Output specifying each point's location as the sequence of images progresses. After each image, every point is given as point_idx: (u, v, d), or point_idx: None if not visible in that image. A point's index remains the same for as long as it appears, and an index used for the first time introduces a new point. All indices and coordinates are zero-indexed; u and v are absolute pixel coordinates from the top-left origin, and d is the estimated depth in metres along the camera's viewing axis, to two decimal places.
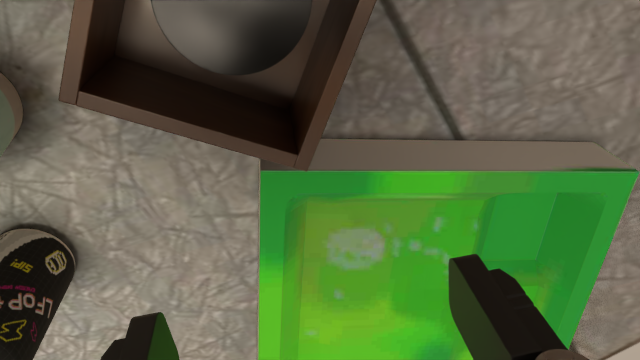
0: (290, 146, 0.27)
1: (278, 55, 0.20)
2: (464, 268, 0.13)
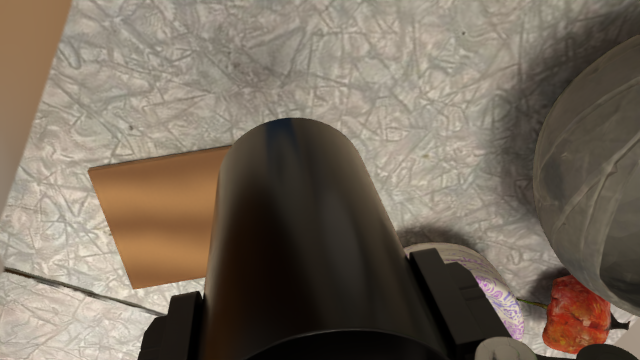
0: None
1: None
2: (421, 261, 0.13)
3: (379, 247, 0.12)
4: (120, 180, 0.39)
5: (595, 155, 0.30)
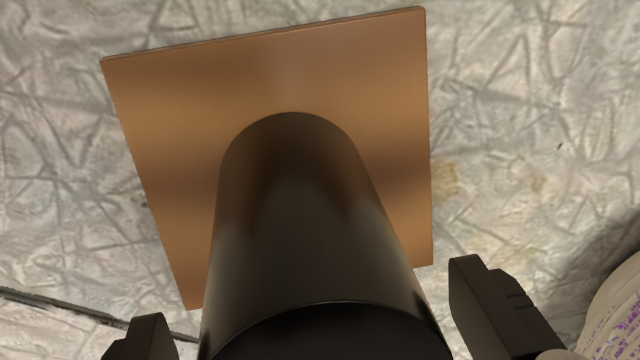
0: None
1: None
2: (464, 268, 0.13)
3: (372, 230, 0.13)
4: (168, 84, 0.18)
5: None
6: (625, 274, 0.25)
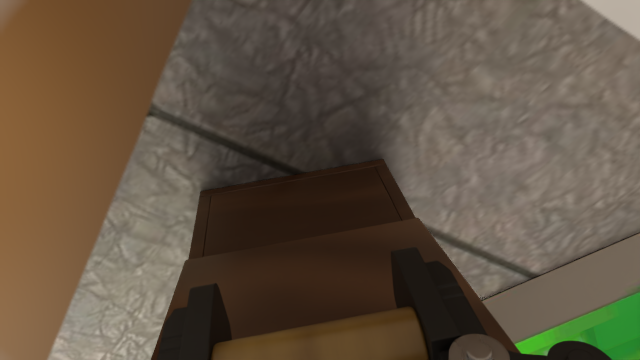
0: None
1: None
2: (402, 260, 0.13)
3: None
4: None
5: None
6: None
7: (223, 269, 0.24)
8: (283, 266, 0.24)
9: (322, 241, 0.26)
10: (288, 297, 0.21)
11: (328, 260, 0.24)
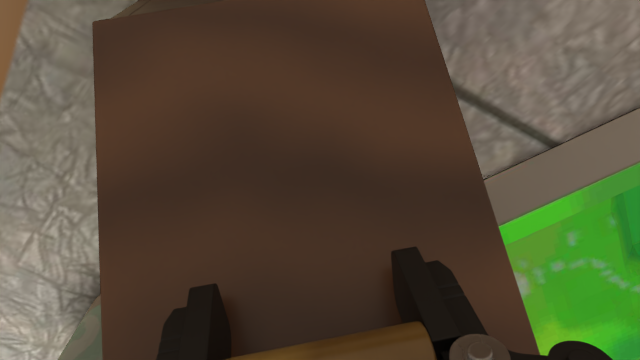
0: None
1: None
2: (402, 260, 0.13)
3: None
4: None
5: None
6: None
7: (153, 53, 0.18)
8: (235, 58, 0.18)
9: (284, 8, 0.19)
10: (250, 126, 0.17)
11: (294, 54, 0.18)
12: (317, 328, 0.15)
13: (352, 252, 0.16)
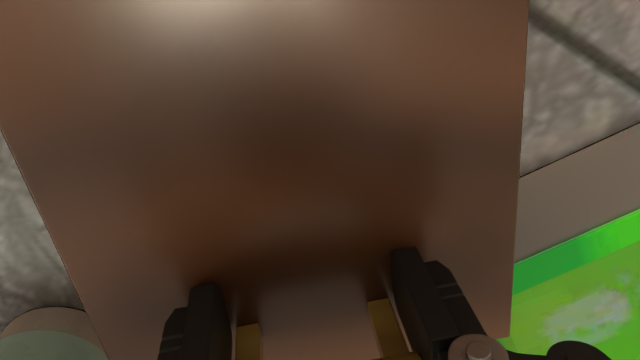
0: None
1: None
2: (401, 260, 0.13)
3: None
4: None
5: None
6: None
7: None
8: None
9: None
10: (218, 51, 0.11)
11: None
12: (309, 283, 0.15)
13: (353, 216, 0.14)
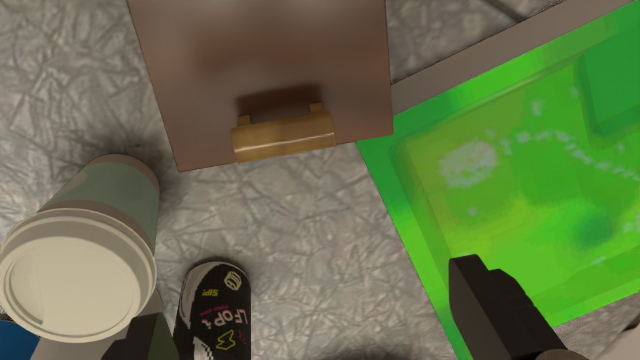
0: None
1: None
2: (464, 268, 0.13)
3: None
4: None
5: None
6: None
7: None
8: None
9: None
10: None
11: None
12: (277, 90, 0.27)
13: (299, 48, 0.26)
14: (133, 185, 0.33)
